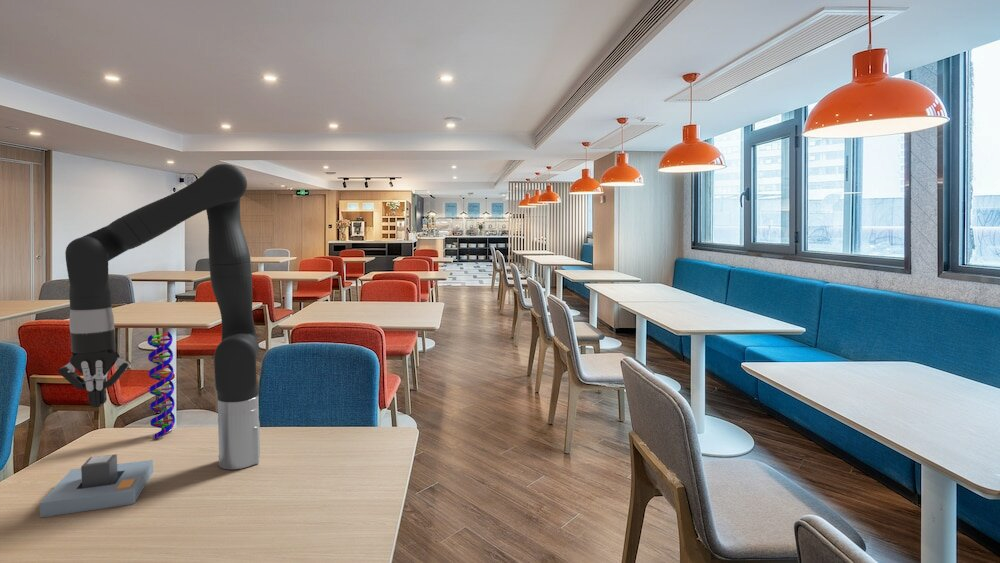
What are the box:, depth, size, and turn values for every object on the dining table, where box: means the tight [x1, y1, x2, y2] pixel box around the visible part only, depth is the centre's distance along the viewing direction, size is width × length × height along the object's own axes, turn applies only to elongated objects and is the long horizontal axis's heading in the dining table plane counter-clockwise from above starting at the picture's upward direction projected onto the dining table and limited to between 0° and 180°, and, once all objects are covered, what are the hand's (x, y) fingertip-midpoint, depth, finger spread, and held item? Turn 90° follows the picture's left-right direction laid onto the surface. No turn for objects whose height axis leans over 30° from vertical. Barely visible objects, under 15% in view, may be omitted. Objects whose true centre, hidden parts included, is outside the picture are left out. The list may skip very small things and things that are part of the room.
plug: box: [80, 453, 118, 489], centre depth 113 cm, size 5×5×7 cm
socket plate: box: [38, 459, 154, 518], centre depth 113 cm, size 16×16×3 cm
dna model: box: [147, 331, 176, 440], centre depth 144 cm, size 6×6×30 cm
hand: (98, 406), depth 111 cm, fingers closed
